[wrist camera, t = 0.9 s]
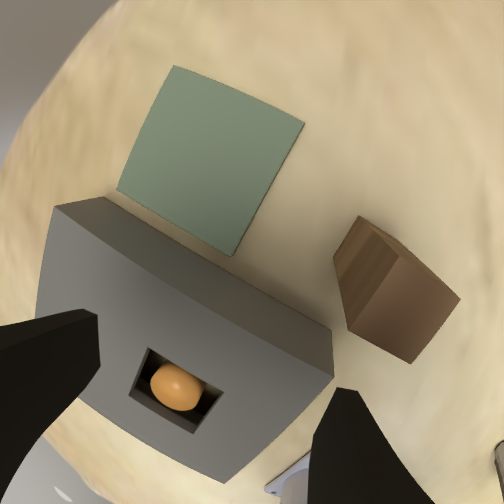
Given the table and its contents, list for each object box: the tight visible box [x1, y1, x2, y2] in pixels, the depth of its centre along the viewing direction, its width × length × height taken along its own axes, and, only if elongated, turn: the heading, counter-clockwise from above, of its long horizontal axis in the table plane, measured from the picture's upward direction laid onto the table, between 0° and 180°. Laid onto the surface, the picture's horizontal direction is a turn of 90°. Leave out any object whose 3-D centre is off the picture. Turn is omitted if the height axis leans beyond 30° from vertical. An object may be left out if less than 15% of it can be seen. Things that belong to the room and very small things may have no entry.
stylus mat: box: [116, 65, 305, 257], centre depth 16 cm, size 8×8×1 cm
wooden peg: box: [333, 216, 460, 364], centre depth 12 cm, size 3×3×8 cm
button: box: [151, 359, 206, 411], centre depth 16 cm, size 3×3×2 cm
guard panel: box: [35, 197, 334, 484], centre depth 17 cm, size 16×12×4 cm
